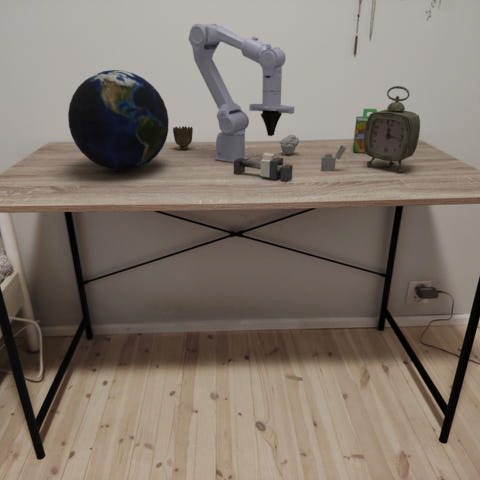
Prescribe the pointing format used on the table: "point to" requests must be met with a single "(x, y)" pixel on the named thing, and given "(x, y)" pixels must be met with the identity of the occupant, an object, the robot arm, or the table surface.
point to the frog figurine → (289, 144)
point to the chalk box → (361, 131)
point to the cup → (183, 136)
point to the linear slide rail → (242, 163)
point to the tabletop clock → (392, 132)
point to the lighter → (331, 160)
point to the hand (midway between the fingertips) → (270, 135)
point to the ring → (275, 168)
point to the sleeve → (266, 164)
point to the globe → (118, 120)
